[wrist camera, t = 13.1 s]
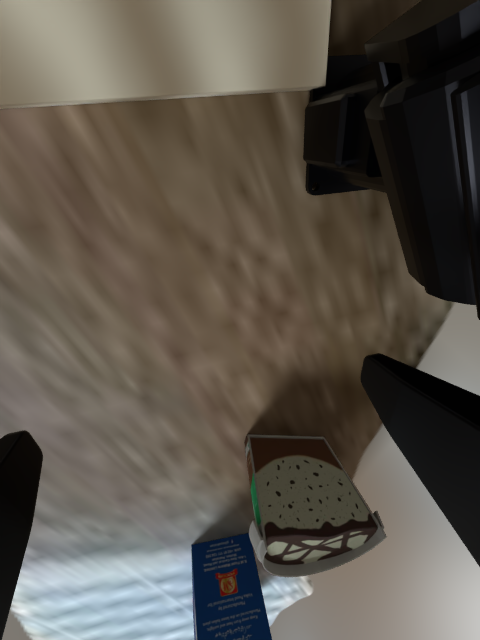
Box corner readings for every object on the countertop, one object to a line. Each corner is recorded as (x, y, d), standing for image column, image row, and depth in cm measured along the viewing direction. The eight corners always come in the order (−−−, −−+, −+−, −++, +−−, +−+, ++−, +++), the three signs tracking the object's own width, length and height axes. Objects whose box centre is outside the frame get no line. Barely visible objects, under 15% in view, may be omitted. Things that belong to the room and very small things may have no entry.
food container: (216, 472, 32) (234, 589, 24) (233, 433, 29) (259, 551, 21) (313, 470, 36) (357, 570, 28) (335, 437, 33) (391, 536, 25)
